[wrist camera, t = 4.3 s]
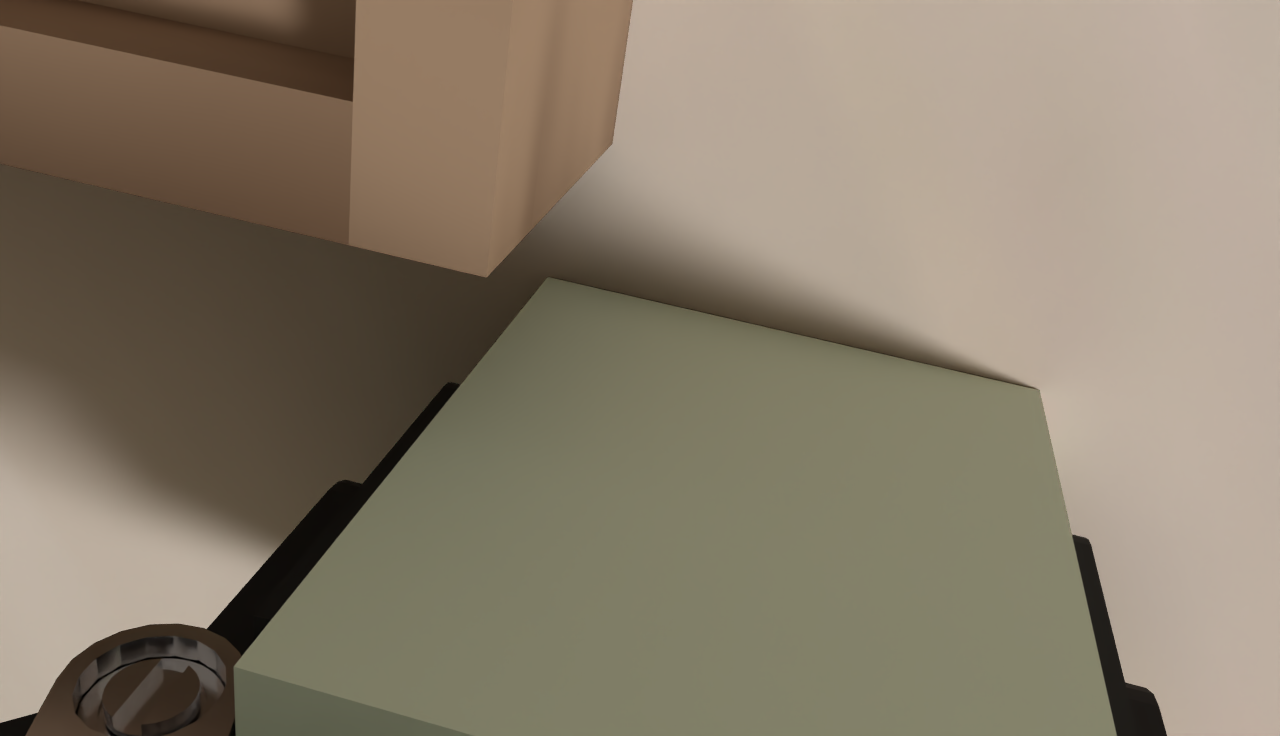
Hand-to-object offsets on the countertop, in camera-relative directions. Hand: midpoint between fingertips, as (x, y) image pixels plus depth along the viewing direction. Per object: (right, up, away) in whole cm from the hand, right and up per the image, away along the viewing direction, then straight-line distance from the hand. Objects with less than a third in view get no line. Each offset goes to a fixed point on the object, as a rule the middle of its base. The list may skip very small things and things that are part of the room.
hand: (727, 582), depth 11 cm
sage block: (0, 0, +1) cm, 1 cm away
